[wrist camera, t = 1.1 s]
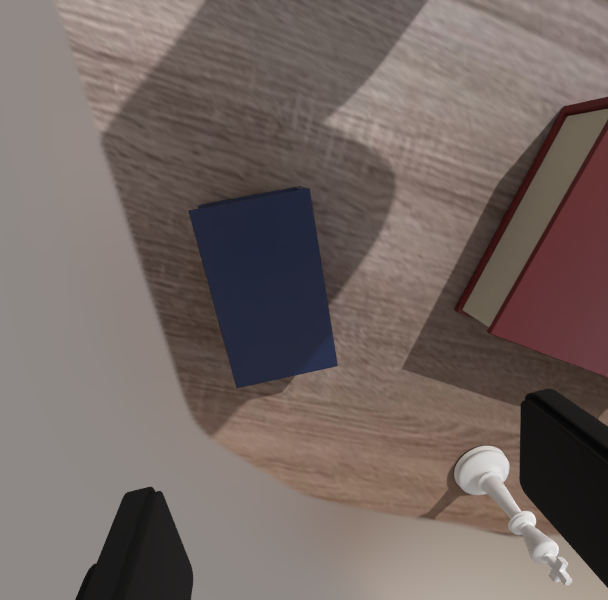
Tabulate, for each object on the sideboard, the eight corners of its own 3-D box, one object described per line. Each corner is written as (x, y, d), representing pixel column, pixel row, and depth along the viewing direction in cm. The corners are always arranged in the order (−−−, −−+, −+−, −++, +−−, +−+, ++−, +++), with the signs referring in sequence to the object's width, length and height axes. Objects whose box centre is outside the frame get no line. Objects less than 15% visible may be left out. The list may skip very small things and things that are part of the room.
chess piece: (447, 489, 34) (522, 610, 24) (462, 444, 32) (548, 555, 23) (495, 489, 35) (586, 607, 25) (512, 446, 33) (615, 553, 24)
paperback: (198, 205, 23) (188, 210, 19) (300, 186, 24) (309, 188, 20) (238, 358, 27) (236, 388, 23) (326, 339, 27) (337, 366, 24)
